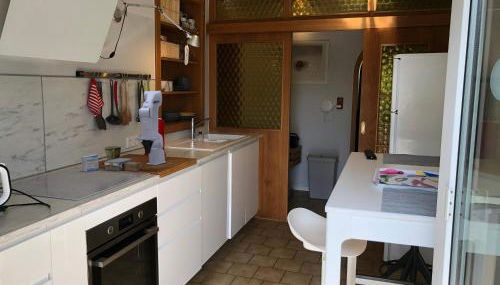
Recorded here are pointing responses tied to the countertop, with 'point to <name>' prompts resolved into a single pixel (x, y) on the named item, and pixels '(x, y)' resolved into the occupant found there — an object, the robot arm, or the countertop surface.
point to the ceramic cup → (112, 152)
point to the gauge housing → (115, 163)
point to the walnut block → (133, 166)
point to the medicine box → (90, 163)
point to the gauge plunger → (121, 164)
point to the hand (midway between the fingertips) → (148, 153)
